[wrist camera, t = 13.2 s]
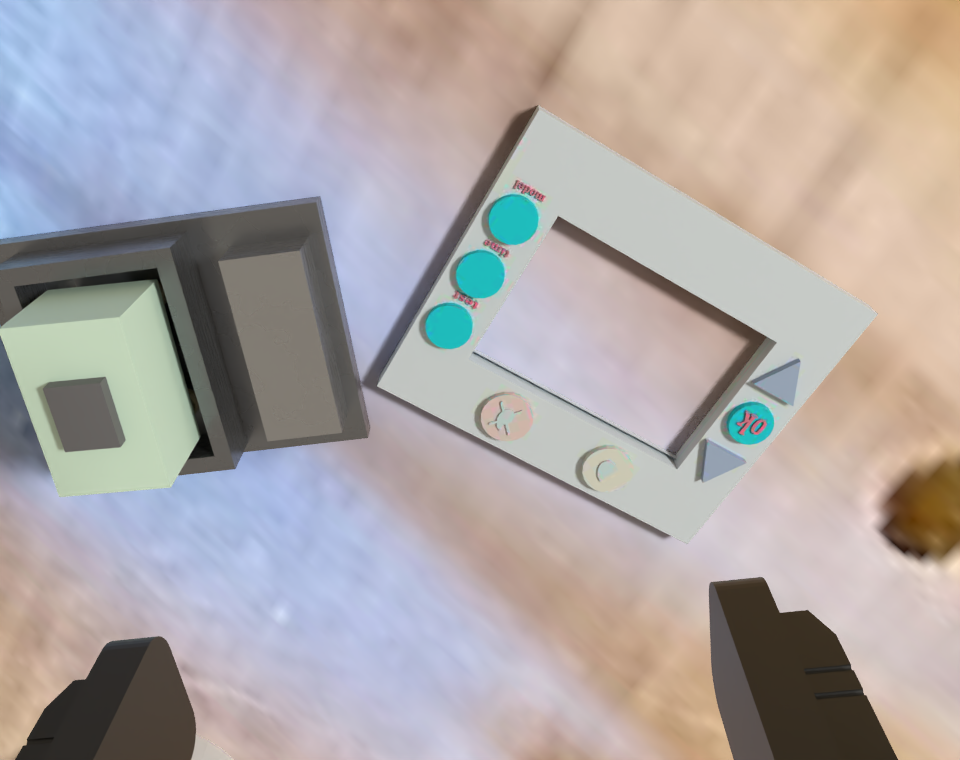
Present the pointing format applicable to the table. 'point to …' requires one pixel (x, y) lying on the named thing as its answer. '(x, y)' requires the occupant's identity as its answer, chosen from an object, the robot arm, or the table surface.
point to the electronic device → (667, 251)
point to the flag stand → (208, 750)
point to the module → (103, 387)
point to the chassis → (224, 317)
